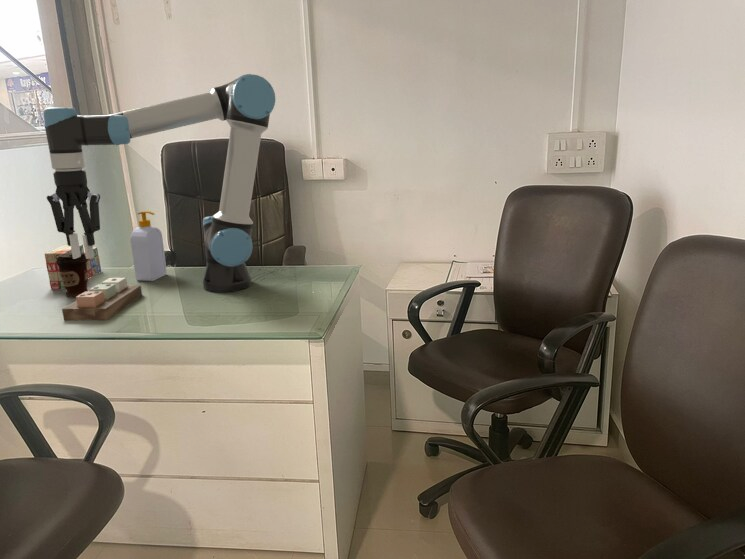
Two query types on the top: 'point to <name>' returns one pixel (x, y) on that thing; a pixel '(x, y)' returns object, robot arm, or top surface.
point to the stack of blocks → (53, 268)
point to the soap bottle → (148, 251)
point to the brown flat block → (103, 306)
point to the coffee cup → (73, 273)
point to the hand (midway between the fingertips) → (83, 257)
